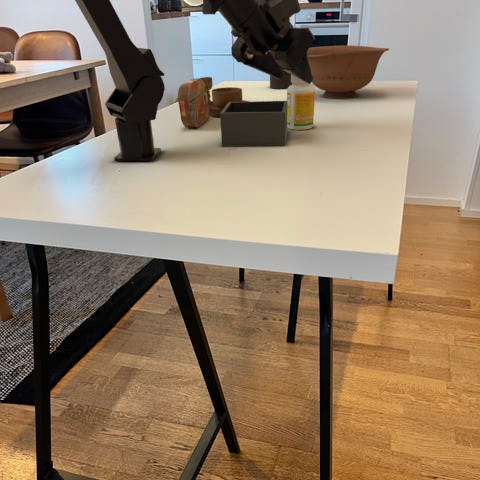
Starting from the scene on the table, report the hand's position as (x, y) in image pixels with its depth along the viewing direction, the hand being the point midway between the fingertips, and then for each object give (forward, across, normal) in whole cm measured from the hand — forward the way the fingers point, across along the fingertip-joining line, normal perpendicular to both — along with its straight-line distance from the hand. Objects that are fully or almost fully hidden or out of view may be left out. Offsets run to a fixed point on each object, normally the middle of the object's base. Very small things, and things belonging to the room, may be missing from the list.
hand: (295, 79), depth 90 cm
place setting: (+7, +27, +6) cm, 28 cm away
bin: (-1, -2, +14) cm, 14 cm away
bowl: (+29, +23, -16) cm, 40 cm away
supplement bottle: (+7, 0, +6) cm, 9 cm away
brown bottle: (+27, +46, -15) cm, 56 cm away
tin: (-3, +18, +16) cm, 24 cm away
